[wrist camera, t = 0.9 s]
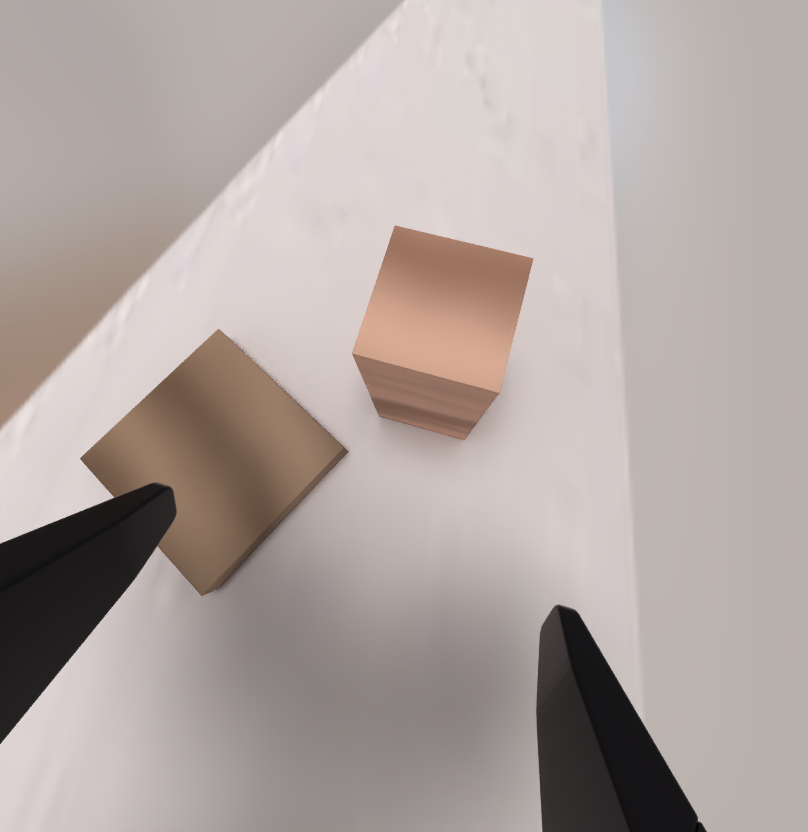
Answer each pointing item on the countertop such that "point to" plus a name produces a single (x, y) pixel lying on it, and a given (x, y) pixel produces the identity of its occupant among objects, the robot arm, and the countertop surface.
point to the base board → (217, 458)
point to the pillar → (439, 330)
